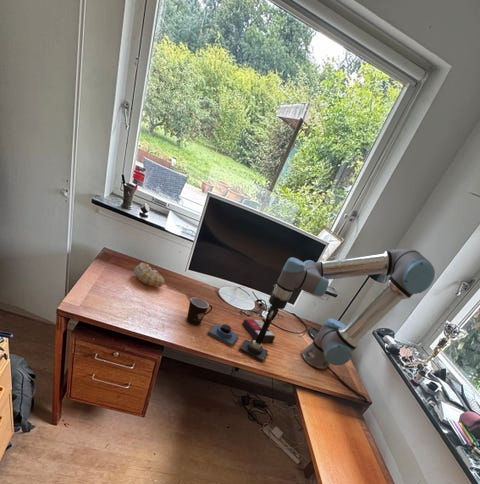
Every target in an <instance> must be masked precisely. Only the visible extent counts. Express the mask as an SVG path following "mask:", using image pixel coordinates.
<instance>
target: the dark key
mask: <svg viewBox="0 0 480 484" xmlns="http://www.w3.org/2000/svg"><path fill="white" fill-rule="evenodd" d="M221 325H222V327H221V330H222V331H223V332H225V333H230V330H232V326H230V325H229V324H225V323H224V324H221Z"/></svg>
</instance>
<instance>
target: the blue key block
mask: <svg viewBox="0 0 480 484" xmlns="http://www.w3.org/2000/svg"><path fill="white" fill-rule="evenodd" d="M222 325H223V324H221V325H220V324H217V323H215V325H213V327H212V328H211V329H210V330H209V331H208V333H207V334H208V336H210V337H212V338H214V339H216V340H217V341H220V342H221V343H223V344H226V345H228V346H229V347H232V346H233V345H234V343H235V342H236V340H237V339H238V337H239V335H238V334H237V333H235V332H234V331H233V329H231V330H230V333H225V332H223V331H222V330H221V327H222Z"/></svg>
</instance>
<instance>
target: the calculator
mask: <svg viewBox="0 0 480 484" xmlns="http://www.w3.org/2000/svg"><path fill="white" fill-rule="evenodd" d="M263 324H264V322H263V320H261V319H251V318H245V319H244V320H243V322H242V327H244V328H245V330H247V332H248V333H249V334H250V335H251V338H252V339H253V341H254V340H256V339H257V337H258V335H259V333H260V330H259V329H260V328H261V329H262V326H263ZM268 329H269V331H267V332H266V334H265V336H264V338H263V340H262V343H273V342H274V339H275V338H276V336H275V334H274V333H273V332H272V331H271V329H270V327H269V328H268Z"/></svg>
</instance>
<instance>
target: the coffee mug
mask: <svg viewBox="0 0 480 484" xmlns="http://www.w3.org/2000/svg"><path fill="white" fill-rule="evenodd" d="M188 305H189V306H188V312H187V315H186V321H187V323H188V324H190V325H192V326H200V325H201V323H202V322H203V320H204V317H205V316H206V315H208V314H209V313H211V312H212V310H213V306H212V305H211V304H209V303H208V302H207V301H206V300H205V299H203V298H200V297H191V298H190V300H189V304H188ZM209 307H210V309H209ZM208 309H209V310H208Z"/></svg>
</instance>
